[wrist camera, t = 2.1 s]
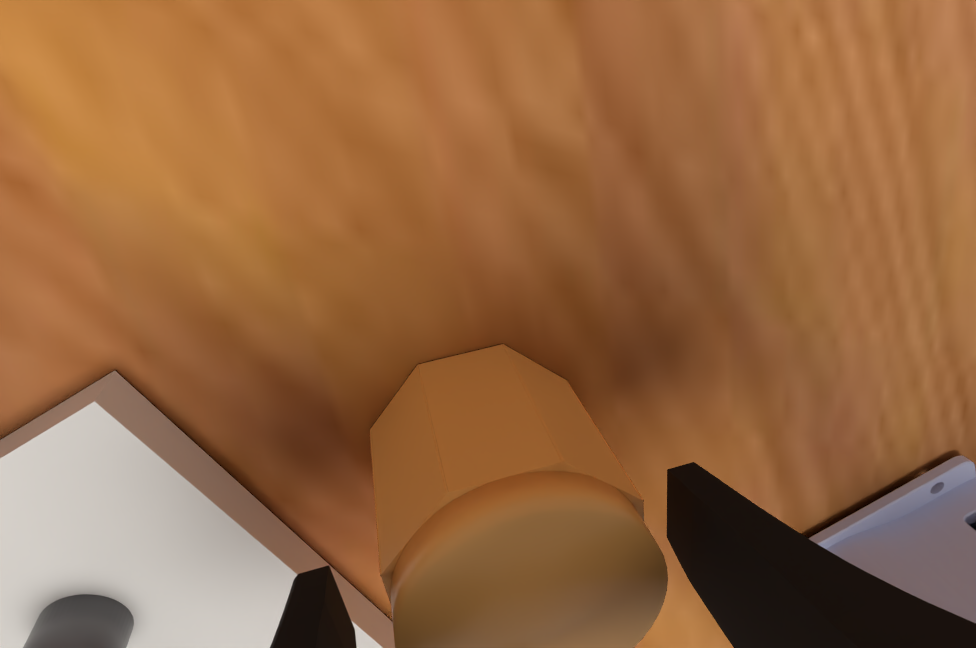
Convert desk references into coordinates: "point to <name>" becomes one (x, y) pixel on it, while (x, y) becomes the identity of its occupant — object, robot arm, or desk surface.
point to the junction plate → (141, 537)
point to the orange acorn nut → (507, 513)
